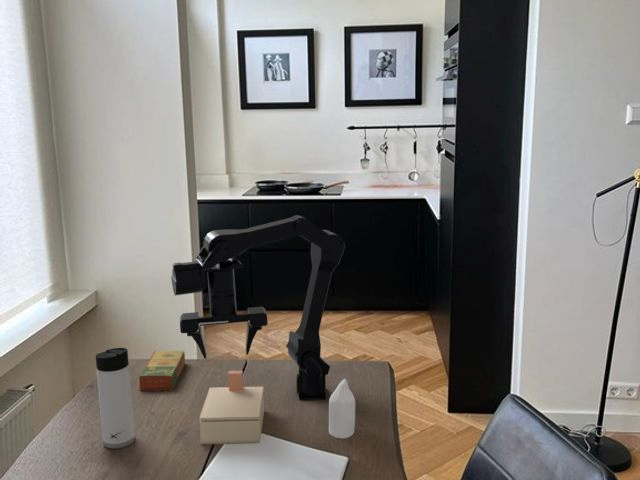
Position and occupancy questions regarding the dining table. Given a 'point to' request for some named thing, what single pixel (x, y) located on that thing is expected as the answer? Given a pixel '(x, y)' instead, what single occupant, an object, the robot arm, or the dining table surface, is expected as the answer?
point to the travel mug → (115, 398)
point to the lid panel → (233, 401)
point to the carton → (162, 370)
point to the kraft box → (232, 430)
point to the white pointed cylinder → (342, 412)
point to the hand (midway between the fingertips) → (226, 356)
